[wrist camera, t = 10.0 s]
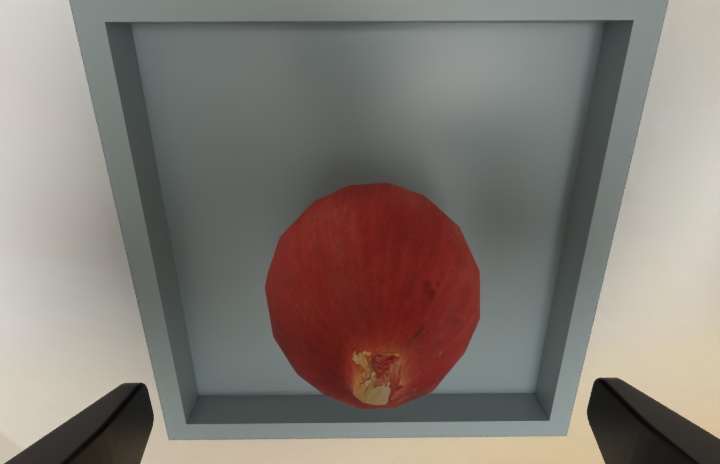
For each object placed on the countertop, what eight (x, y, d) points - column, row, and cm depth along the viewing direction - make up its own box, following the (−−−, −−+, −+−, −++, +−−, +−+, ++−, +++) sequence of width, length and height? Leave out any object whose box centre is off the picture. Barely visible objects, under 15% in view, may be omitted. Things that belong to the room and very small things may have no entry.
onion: (474, 271, 16) (571, 456, 9) (334, 329, 17) (318, 540, 10) (411, 126, 14) (470, 212, 7) (257, 201, 15) (164, 346, 8)
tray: (619, -4, 14) (671, -15, 12) (541, 390, 20) (566, 436, 18) (114, -3, 14) (66, -13, 11) (190, 394, 20) (168, 440, 17)
